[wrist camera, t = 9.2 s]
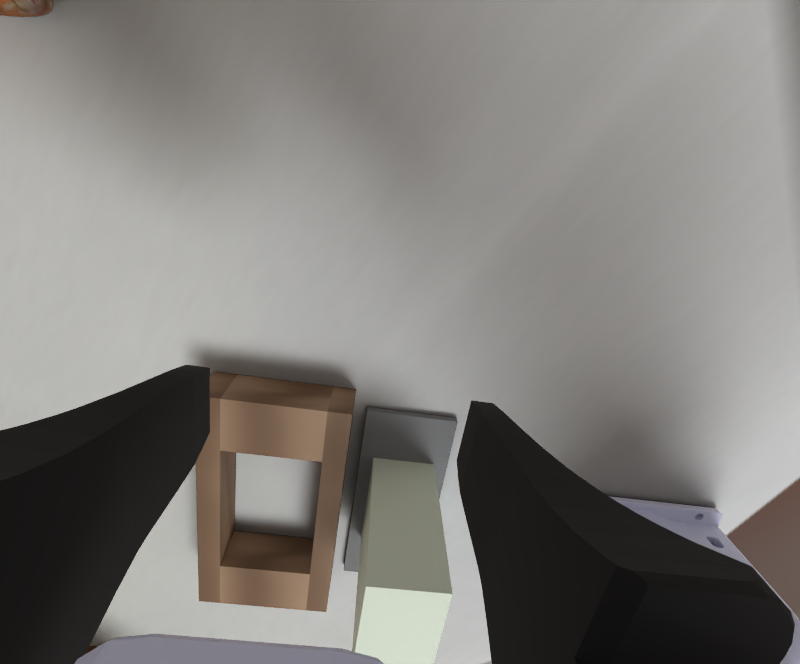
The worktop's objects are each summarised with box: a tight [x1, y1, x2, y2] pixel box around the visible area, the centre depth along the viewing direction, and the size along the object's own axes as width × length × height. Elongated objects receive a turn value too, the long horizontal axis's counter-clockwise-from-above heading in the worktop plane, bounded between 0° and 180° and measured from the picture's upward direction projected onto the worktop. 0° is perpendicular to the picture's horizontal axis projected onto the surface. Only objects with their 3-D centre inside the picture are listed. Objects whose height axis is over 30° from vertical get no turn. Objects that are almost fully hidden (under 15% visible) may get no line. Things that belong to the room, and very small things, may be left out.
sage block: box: [352, 458, 452, 664], centre depth 22 cm, size 4×6×8 cm, turn 172°
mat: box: [344, 407, 457, 572], centre depth 26 cm, size 5×12×1 cm, turn 171°
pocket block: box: [196, 372, 356, 612], centre depth 25 cm, size 8×14×2 cm, turn 171°
